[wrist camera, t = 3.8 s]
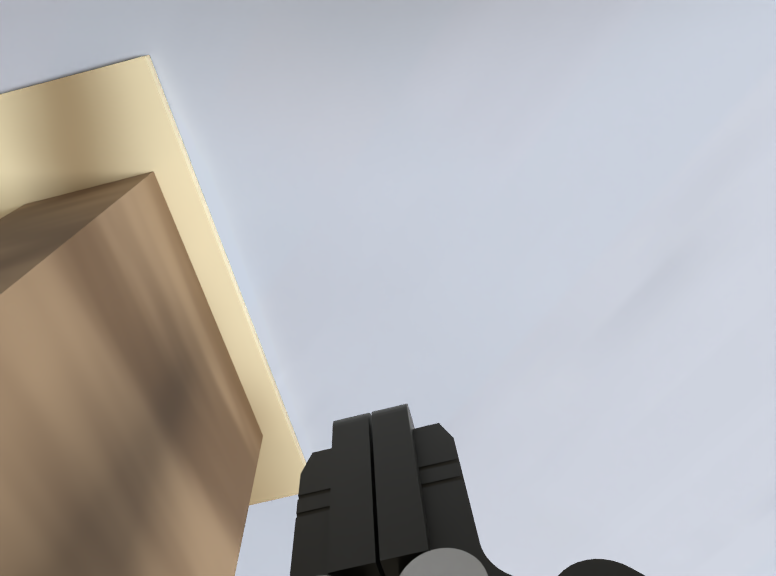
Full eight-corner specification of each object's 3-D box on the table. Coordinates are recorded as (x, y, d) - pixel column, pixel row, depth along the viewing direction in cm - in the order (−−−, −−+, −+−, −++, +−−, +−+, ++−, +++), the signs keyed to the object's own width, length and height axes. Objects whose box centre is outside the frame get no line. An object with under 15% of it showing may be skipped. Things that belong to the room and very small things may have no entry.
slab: (153, 171, 17) (-169, 431, 7) (263, 436, 22) (176, 862, 11) (24, 204, 18) (-497, 510, 7) (158, 460, 22) (-32, 904, 11)
